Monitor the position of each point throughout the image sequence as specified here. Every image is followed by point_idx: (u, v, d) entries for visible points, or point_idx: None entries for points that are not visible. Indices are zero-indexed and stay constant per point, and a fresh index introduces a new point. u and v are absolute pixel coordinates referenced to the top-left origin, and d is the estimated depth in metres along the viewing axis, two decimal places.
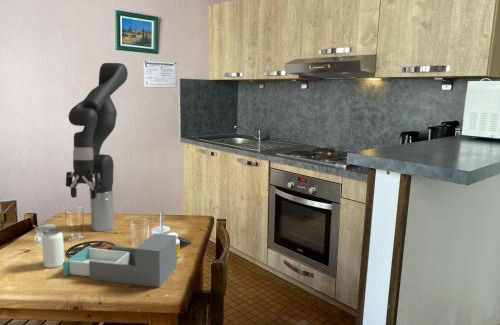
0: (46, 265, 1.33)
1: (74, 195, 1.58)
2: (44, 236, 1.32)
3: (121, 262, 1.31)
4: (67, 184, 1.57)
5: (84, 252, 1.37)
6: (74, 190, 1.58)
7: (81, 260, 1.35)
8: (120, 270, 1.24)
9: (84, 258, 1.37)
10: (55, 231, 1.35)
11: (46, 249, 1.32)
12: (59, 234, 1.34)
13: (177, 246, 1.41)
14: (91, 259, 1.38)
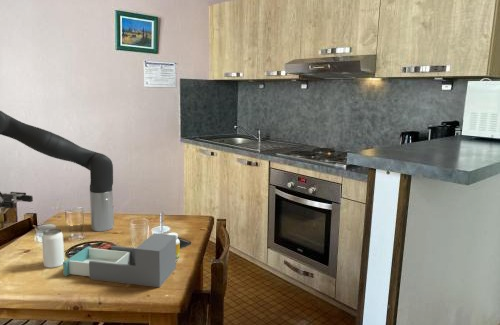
0: (46, 265, 1.33)
1: (29, 199, 1.40)
2: (44, 236, 1.32)
3: (121, 262, 1.31)
4: None
5: (84, 252, 1.37)
6: (24, 199, 1.41)
7: (81, 260, 1.35)
8: (120, 270, 1.24)
9: (84, 258, 1.37)
10: (55, 231, 1.35)
11: (46, 249, 1.32)
12: (59, 234, 1.34)
13: (177, 246, 1.41)
14: (91, 259, 1.38)
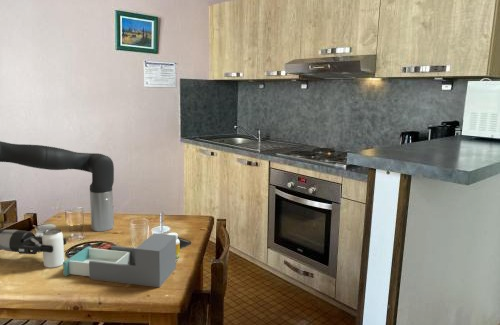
0: (46, 265, 1.33)
1: None
2: (44, 236, 1.32)
3: (121, 262, 1.31)
4: None
5: (84, 252, 1.37)
6: None
7: (81, 260, 1.35)
8: (120, 270, 1.24)
9: (84, 258, 1.37)
10: (55, 231, 1.35)
11: None
12: (59, 234, 1.34)
13: (177, 246, 1.41)
14: (91, 259, 1.38)
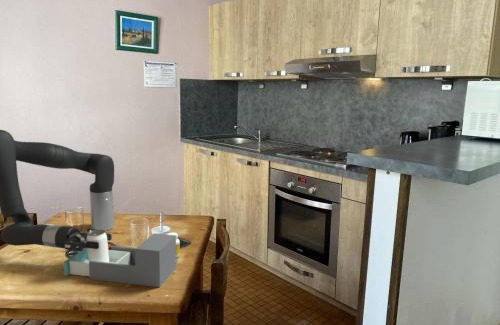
0: None
1: (108, 238, 1.35)
2: (89, 237, 1.28)
3: (121, 262, 1.31)
4: None
5: (84, 252, 1.37)
6: None
7: (81, 260, 1.35)
8: (120, 270, 1.24)
9: (85, 258, 1.37)
10: (99, 232, 1.32)
11: (91, 250, 1.28)
12: (103, 235, 1.30)
13: (177, 246, 1.41)
14: None
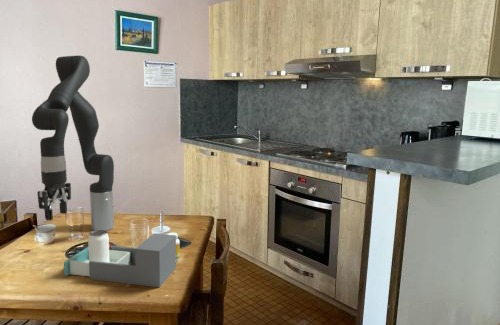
0: None
1: None
2: (91, 237, 1.29)
3: (122, 262, 1.31)
4: (47, 206, 1.26)
5: (85, 252, 1.37)
6: None
7: (82, 260, 1.35)
8: (120, 270, 1.24)
9: (85, 258, 1.37)
10: (101, 232, 1.32)
11: (93, 250, 1.29)
12: (105, 235, 1.30)
13: (177, 246, 1.41)
14: None
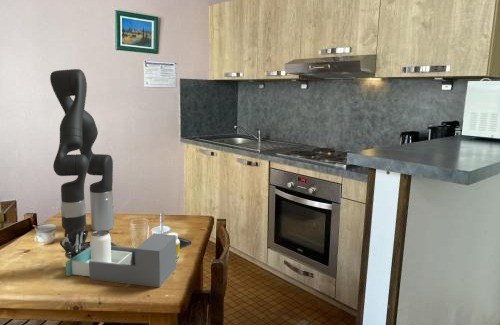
0: None
1: None
2: (92, 237, 1.28)
3: (124, 262, 1.31)
4: (73, 249, 1.31)
5: (86, 252, 1.37)
6: None
7: (83, 260, 1.35)
8: (120, 270, 1.24)
9: (86, 259, 1.37)
10: (103, 232, 1.32)
11: (95, 251, 1.28)
12: (107, 235, 1.30)
13: (177, 246, 1.41)
14: None
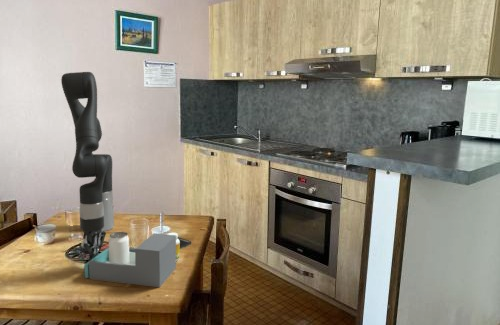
0: None
1: None
2: (111, 239, 1.27)
3: None
4: (92, 251, 1.30)
5: (104, 254, 1.35)
6: None
7: None
8: (120, 270, 1.24)
9: (104, 260, 1.36)
10: (121, 234, 1.31)
11: (113, 253, 1.27)
12: (126, 237, 1.29)
13: (177, 246, 1.41)
14: None
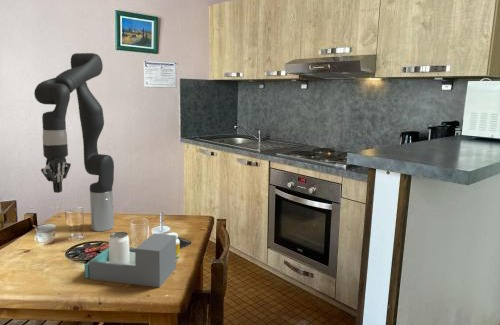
0: None
1: None
2: (111, 239, 1.27)
3: None
4: (55, 178, 1.32)
5: (104, 254, 1.35)
6: None
7: None
8: (120, 270, 1.24)
9: (104, 260, 1.36)
10: (121, 234, 1.31)
11: (113, 253, 1.27)
12: (126, 237, 1.29)
13: (177, 246, 1.41)
14: None
